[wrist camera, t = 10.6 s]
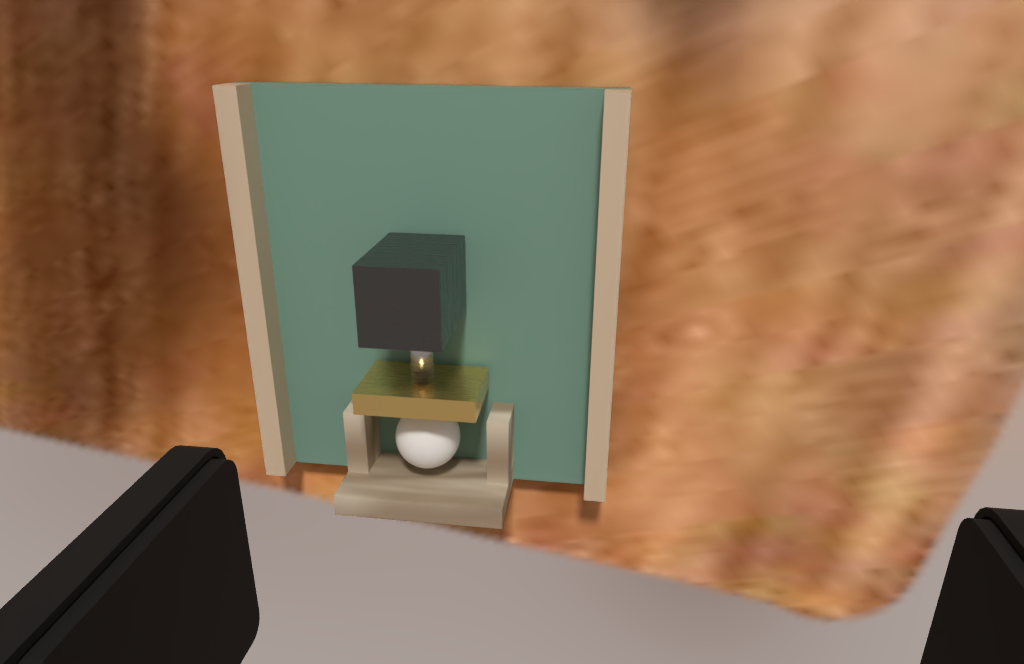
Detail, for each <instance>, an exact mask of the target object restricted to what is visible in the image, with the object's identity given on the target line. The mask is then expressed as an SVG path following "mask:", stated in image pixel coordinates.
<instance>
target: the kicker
mask: <svg viewBox="0 0 1024 664" xmlns="http://www.w3.org/2000/svg"><path fill="white" fill-rule="evenodd" d="M352 273H353V285H354V298H355V311H356V324H357V336H358V348H373V349H390V350H407V351H410V360H411V362H400V361H383V360H376V361H375V362H374V364H373V365H372V367H371V368H370V369H369V371H368V372H367V373H366V375H365V376H364V377H363V379H362V380H361V382H360V383H359V384H358V386H357V387H356V388H355V390H354V391H353V393H352V403H353V414H354V415H368V416H383V417H397V418H411V419H426V420H440V421H454V422H469V423H476V421H477V418H478V415H479V412H480V410H481V407H482V404H483V401H484V398H485V396H486V393H487V390H488V387H489V367H482V366H466V365H449V364H434V359H433V352H441V353H442V352H443V350H444V348H445V346H446V344H447V343H448V341H449V339H450V337H451V335H452V333H453V332H454V330H455V328H456V326H457V324H458V322H459V320H460V319H461V317H462V315H463V313H464V311H465V309H466V269H465V235H445V234H420V233H395V232H389V233H388V234H387V235H386V236H385V237H384V238H383V239H381V240H380V241H379V242H378V243H377V244H376V245H375V246H374V247H372V248H371V249H370V250H369V251H368V252H367V253H366V254H365V255H363V256H362V257H361V258H360V259H359V260H358V261H357V262H356V263H354V264H353V265H352Z"/></svg>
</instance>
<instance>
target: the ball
mask: <svg viewBox="0 0 1024 664" xmlns="http://www.w3.org/2000/svg"><path fill="white" fill-rule="evenodd" d="M395 438H396V444H397V448H398V450H399V452H400V454H401V455H402V457H403V458H404V459H405V460H406V461H407V462H409V463H410V464H412V465H414V466H416V467H420V468H435V467H439V466H441V465H443V464H445V463H446V462H448V461H449V460H450V459H451V458H452V457H453V456H454V454H455V453H456V451H457V449H458V447H459V443H460V428H459V424H458V422H454V421H440V420H426V419H411V418H401V419H400V421H399V423H398V425H397V428H396V436H395Z"/></svg>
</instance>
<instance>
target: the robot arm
mask: <svg viewBox="0 0 1024 664" xmlns="http://www.w3.org/2000/svg"><path fill="white" fill-rule="evenodd" d="M258 626H259V607H258V601H257V594H256V588H255V582H254V575H253V569H252V562H251V556H250V550H249V544H248V537H247V531H246V524H245V518H244V511H243V505H242V498H241V492H240V486H239V479H238V473H237V468H236V465H235V464H234V462H233V461H231V460H226V457H225V455H224V453H223V452H222V450H220V449H218V448H208V447H195V446H182V445H181V446H175V447H173V448H172V449H170V450H169V451H168V452H167V453H166V454H165V455H164V456H163V457H162V458H161V459H160V460H159V461H157V462H156V463H155V464H154V465H153V466H152V467H151V468H150V469H149V470H148V471H147V472H146V473H145V474H144V475H143V476H142V477H141V478H140V479H138V480H137V481H136V482H135V483H134V484H133V485H132V486H131V487H130V488H129V489H128V490H127V491H126V492H124V494H122V495H121V496H120V497H119V498H118V499H117V500H116V501H115V502H114V503H113V504H112V505H111V506H110V507H109V508H107V509H106V510H105V511H104V512H103V513H102V514H101V515H100V516H99V517H98V518H97V519H96V520H95V521H94V522H93V523H91V524H90V525H89V526H88V527H87V528H86V529H85V530H84V531H83V532H82V533H81V534H80V535H79V536H78V537H77V538H75V539H74V540H73V541H72V542H71V543H70V544H69V545H68V546H67V547H66V548H65V549H64V550H63V551H62V552H61V553H60V554H58V556H56V557H55V558H54V559H53V560H52V561H51V562H50V563H49V564H48V565H47V566H46V567H45V568H44V569H42V570H41V571H40V572H39V573H38V574H37V575H36V576H35V577H34V578H33V579H32V580H31V581H30V582H29V583H28V584H27V585H26V586H25V587H23V588H22V589H21V590H20V591H19V592H18V593H17V594H16V595H15V596H14V597H13V598H12V599H11V600H9V601H8V602H7V603H6V604H5V605H4V606H3V607H2V608H1V609H0V664H241V662H242V660H243V658H244V657H245V655H246V653H247V652H248V650H249V648H250V647H251V645H252V643H253V641H254V639H255V637H256V634H257V631H258ZM920 664H1024V510H1014V509H1001V508H988V507H985V508H982V509H980V510H979V511H978V512H977V513H976V515H975V517H974V518H966V519H964V520H963V521H962V522H961V524H960V526H959V529H958V532H957V535H956V539H955V543H954V546H953V550H952V553H951V557H950V560H949V564H948V568H947V571H946V575H945V578H944V582H943V585H942V589H941V592H940V596H939V599H938V603H937V606H936V610H935V613H934V617H933V621H932V624H931V628H930V631H929V635H928V638H927V642H926V645H925V649H924V652H923V656H922V659H921V663H920Z"/></svg>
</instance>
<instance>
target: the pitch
mask: <svg viewBox="0 0 1024 664" xmlns="http://www.w3.org/2000/svg"><path fill="white" fill-rule="evenodd" d="M212 88H213V95H214V102H215V109H216V117H217V124H218V131H219V138H220V145H221V152H222V160H223V167H224V174H225V181H226V188H227V195H228V203H229V210H230V217H231V224H232V231H233V239H234V246H235V253H236V260H237V267H238V274H239V282H240V289H241V296H242V303H243V310H244V317H245V325H246V332H247V339H248V346H249V353H250V361H251V368H252V375H253V382H254V389H255V396H256V404H257V411H258V418H259V425H260V432H261V439H262V447H263V454H264V461H265V468H266V475H276V476H286V475H287V474H288V473H289V471H290V470H291V469H292V467H293V466H294V464H295V463H296V462H305V463H318V464H330V465H343V466H348V464H347V453H346V442H345V431H344V420H343V412H344V410H345V409H346V408H347V406H348V405H349V403H350V402H351V401H352V393H353V391H354V390H355V388H356V387H357V386H358V384H359V383H360V382H361V380H362V379H363V377H364V376H365V375H366V373H367V372H368V371H369V369H370V368H371V367H372V365H373V364H374V362H375V361H376V360H383V361H400V362H411V360H410V351H407V350H390V349H373V348H358V336H357V324H356V311H355V298H354V285H353V273H352V265H353V264H354V263H356V262H357V261H358V260H359V259H360V258H361V257H362V256H363V255H365V254H366V253H367V252H368V251H369V250H370V249H371V248H372V247H374V246H375V245H376V244H377V243H378V242H379V241H380V240H381V239H383V238H384V237H385V236H386V235H387V234H388V233H389V232H395V233H420V234H445V235H465V269H466V309H465V311H464V313H463V315H462V317H461V319H460V320H459V322H458V324H457V326H456V328H455V330H454V332H453V333H452V335H451V337H450V339H449V341H448V343H447V344H446V346H445V348H444V350H443V352H442V353H441V352H433V359H434V364H449V365H466V366H482V367H489V387H488V390H487V393H486V396H485V398H484V401H483V404H482V407H481V410H480V412H479V415H478V418H477V421H476V423H469V422H458V424H459V428H460V443H459V447H458V449H457V451H456V453H455V454H454V456H453V457H463V458H476V459H487V432H486V422H487V419H488V416H489V413H490V410H491V407H492V404H493V402H499V403H514V479H522V480H535V481H548V482H561V483H574V484H585V487H584V500H586V501H598V502H605V497H606V482H607V466H608V450H609V435H610V419H611V403H612V388H613V372H614V356H615V341H616V325H617V309H618V294H619V278H620V262H621V247H622V231H623V215H624V200H625V184H626V168H627V153H628V137H629V122H630V106H631V89H630V88H620V87H555V86H490V85H426V84H361V83H297V82H233V83H225V84H218V85H212ZM378 417H379V431H380V446H381V451H383V452H396V453H400V452H399V450H398V448H397V444H396V438H395V436H396V428H397V425H398V423H399V421H400V419H401V418H397V417H383V416H378Z"/></svg>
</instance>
